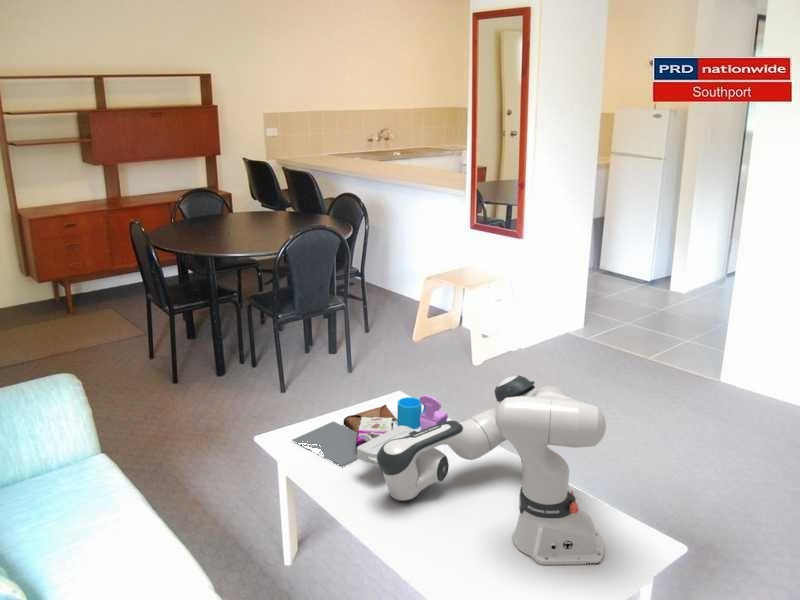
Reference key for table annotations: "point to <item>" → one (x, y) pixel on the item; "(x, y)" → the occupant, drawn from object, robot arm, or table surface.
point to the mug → (409, 412)
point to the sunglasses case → (354, 420)
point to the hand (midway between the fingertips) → (367, 435)
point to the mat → (333, 442)
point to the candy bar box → (372, 427)
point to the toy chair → (431, 412)
